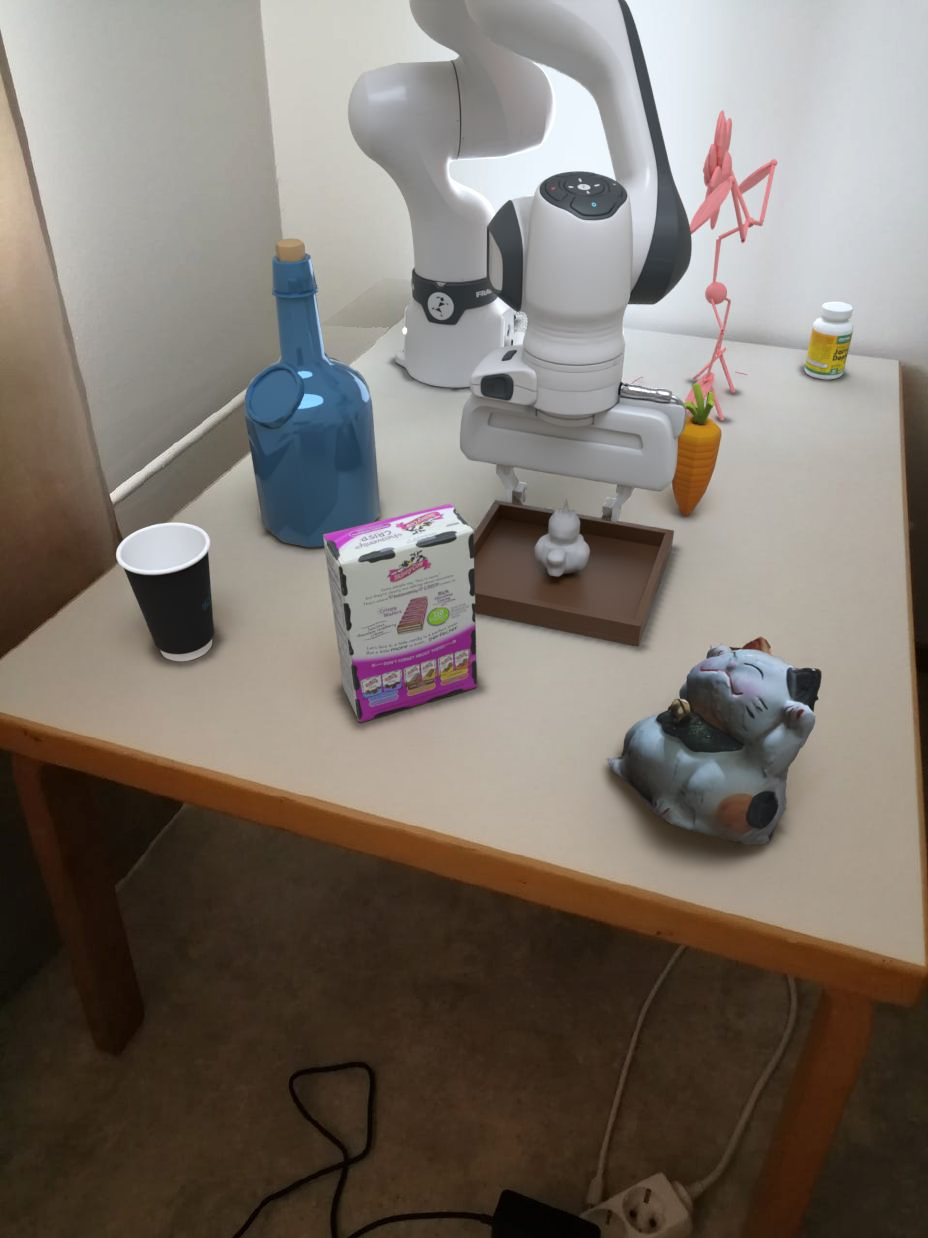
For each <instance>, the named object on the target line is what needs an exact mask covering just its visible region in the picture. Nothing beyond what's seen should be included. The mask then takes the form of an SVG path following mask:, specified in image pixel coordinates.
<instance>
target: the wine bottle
mask: <svg viewBox="0 0 928 1238" xmlns="http://www.w3.org/2000/svg"><path fill="white" fill-rule="evenodd" d="M274 248H275V255H274V256H272V257H271V264H272V265H271V272H272V273H271V274H272V276H271V277H272V288H271V295H272V296H274V297H275V307H276V318H277V328H278V329H277V330H278V338H279V350H280V356H279V358H278V360H277V361H274V362H272V363H271V364H269V365H268V366H267V367H266V368H264V369H263V370H261V371H260V372H259V373H258V374H257V375H255V376H254V377H253V378H252V379H251V381H250V382H249V384H248V385H247V388H246V390H245V395H244V418H245V423H246V431H247V436H248V442H249V443H248V444H249V448H250V455H251V460H252V462H251V463H252V468H253V474H254V479H255V487H256V492H257V498H258V504H259V511H260V517H261V522H262V525H263V526H264V528H265V530H267V531H268V532H269V533H270V534H272V535H273V536H275V537H276V538H277V539H278V540H280V541H281V542H282V543H286V544H291V545H297V546H301V547H304V548H305V547H306V548H316V547H324V540H323V535H324V534H328V533H332V532H336V531H340V530H345V529H349V528H353V527H357V526H361V525H365V524H369V523H373V522H377V521H378V518H379V516H380V514H381V502H380V488H379V475H378V464H377V463H378V462H377V448H376V435H375V422H374V421H375V420H374V408H373V403H372V402H373V401H372V395H371V392H370V387H369V384H368V382H367V380H366V379H365V377H364V376H363V375H362V374H361V372H359V371H358V370H357V369H355V368H354V367H353V366H352V367H351V366H350V365H348V364H346V363H344V362H342V361H340V360H338V359H336V358H335V357H329V356H328V354H327V353H326V351H325V349H324V342H323V334H322V327H321V319H320V313H319V305H318V298H317V293H319V285H318V284H317V280H316V275H315V271H314V267H313V262H312V257H311V255H310V254H308V253H306V245H305V243H304V242H303V240H301V239H298V238H285V239H280V240H279V241H277V242H276V243H275V245H274Z"/></svg>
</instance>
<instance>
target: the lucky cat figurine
mask: <svg viewBox="0 0 928 1238" xmlns="http://www.w3.org/2000/svg"><path fill="white" fill-rule="evenodd" d="M709 647H710V648H709V649H708V651H707V653H706V657H705V659H703V660H702V661H701V662H699V663H697V664H695V665H694V666H693V667H691V669H690V671H689V673H688V674H687V675H686V679H685V682H684V683H683V684H682V685H681V687H680V689H679V692H678V696H679V698H674V700H673V701H671V704H670V705H668V706H667V710H664V711H662V712H660V713H658V714H653V715H649V716H646V717H644V718H642V719H639V720H638V721H637V722H636V723H634V724H633V725H632V726H631V727H630V728H629V729H628V730H627V731H626V733H625V735H624V739H623V746H622V752H621V755H620V756H617V757H616V758H611V757H607V758H606V761H607V763H608V766H609V768H610V770H611V771H612V772H613V773H614V774H615V775H617V776H619V777H620V778H622V779H623V780H624V781H626V782H627V783H628V784H629V785H630V786H631V787H632V788H633V789H634V790H635V792H636V793H637V794H638V795H639V797H640V798H641V799H642V800H643V802H644V804H646V805H647V807H648V808H649V809H650V810H651V811H652V812H654V813H655V814H656V815H658V816H660V817H661V818H663V819H665V820H666V821H667V822H668V823H669V824H671V825H674V826H676V827H679V828H681V829H683V830H687V831H690V832H694V833H697V834H701V835H705V836H710V837H715V838H719V839H724V840H728V841H735V842H737V843H739V844H742V845H743V844H744V845H766V844H770V842H771V840H772V838H773V835H774V832H775V828H776V826H777V824H778V823H779V821H780V819H781V817H782V816H783V814H784V813H785V811H786V809H787V804H788V802H787V801H788V800H787V786H788V785H787V781H788V780H787V779H788V773H789V767H791V764H792V763H793V762H795V760H796V758H797V757H798V754H799V752H800V750H801V749H802V748H803V747H804V746H805V745H806V743H807V741H808V739H809V737H810V734H811V733H812V731H813V729H814V727H815V724H816V716H817V715H815V704H816V702H817V701H819V696H818V694H819V691H820V688H821V684H822V678H823V677H822V675H823V674H822V673H823V672H822V670H821V669H819V668H816V667H815V668H813V667H803V668H800V667H799V668H798V667H795V666H793V665H791V664H789V663H788V662H787V661H786V660H785V659H784V658H782V657H781V656H778V655H773V654H772V651H771V647H772V646H771V645H770V643H769V641H768V640H767V639H766V638H764V637H763V636H758V637H757V638H755V639H753V640H750V641H749V642H746V643H745V644H744V645H743V646H742V647H733V646H728V645H726V644H723V643H720V644H719V645H718V646H714V645H713V644H710V645H709Z"/></svg>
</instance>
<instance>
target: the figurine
mask: <svg viewBox="0 0 928 1238" xmlns="http://www.w3.org/2000/svg"><path fill="white" fill-rule="evenodd" d="M715 125H716V126H715V131H714V139H713V143H711V144H710V146H709V150H708V153H707V155H706V157H705V160H704V165H703V168H702V173H703V183H704V185H705V187H707V188H706V192H705V198H704V201H703V202H702V203H701V204H700V206H699V207H698V209H697V210H696V212H695V214H694V216H693V217H692V218H691V221H690V223H689V225H690V231H691V235H693V234H694V233H695V232H697V230H699V229H700V228H701V227H702V226H703V225H704V224H705V223H707V222H708V221H710V222H709V225H710V230H712V231H713V230H714V229H715V227H716V225H717V223H718V219H719V216H720V215H719V214H720V211H721V206H722V205H723V203H724V201H725V200H726V199H727V197H728V195H729V193H731V197H732V202H733V206H734V207H733V208H734V212H735V217H736V221H737V227H734V228H732V229H730V230H728V231H726V232H724V233H722V234H720V235H718V239H715V240H716V241H715V252H714V262H713V275H712V276H713V277H712V282H711V283H710V284H708V285H707V287H706V288H705V291H704V296H705V297H704V298H705V300H706V301H707V302H708V303H709V304H711V307H712V309H713V311H714V315H715V318H716V320H717V323H718V326H719V329H720V331H719V334H718V337H717V341H716V344H715V347H714V350H713V352H712V357H711V359H710V360H709V361H708V362H707V364H705V365H704V367H702V368H701V369H699V371H698V373H696V374H695V375H694V376H693V377H692V380H693V381H694V380H696V379H697V378H699V377H700V376H701V375H702V374H703V373H704V372H705V371H706V370H707V372H706V373H705V374H704V375H702V377H701V378H699V379H698V380H697V381H696V382H695V383H698V384H700V387H701V390H702V394H703V399H704V401H705V400H706V399H707V394H708V392H712V393H713V394H714V400H713V402H714V403H715V404H714V407H715V411H716V413H717V417H718V418H719V421H724V420H725V417H724V414H723V412H722V408H721V406H720V404H719V403H720V402H719V400H718V398H717V395H716V392H715V389H714V387H713V385H714V383H715V378H716V377H715V376H716V375H715V373H714V372H713V371H712V367H713V365H714V363H715V362H716V361H717V360H718V359H719V361H720V364H721V367H722V370H723V373H724V376H725V379H726V382H727V385H728V387H729V390H730V393H731V394H734V393H735V392H736V389H735V387H734V384H733V381H732V378H731V375H730V372H729V369H728V366H727V364H726V361H725V357H724V353H725V352H726V351H727V347H724V348H722V345H723V341H724V340H723V339H724V336H725V331H726V326H727V321H728V317H729V313H730V308H731V304H732V300H731V298H729V297H727V296H728V290H727V287H726V285H725V284H724V283H722V282H719V281H717V277H718V276H717V275H718V269H719V268H718V267H719V261H720V252H721V251H720V250H721V244H722V240H723V239H726V238H727V237H729V236H731V235H733V234H735V233H739V238H740V243H741V244H745V243H746V240H747V236H748V235H747V234H748V230H749V229H750V228H752V227H753V226H758V227H763V225H764V221H765V218H766V212H767V208H768V203H769V197H770V193H771V189H772V184H773V179H774V174H775V169H776V166H777V165H778V160H777V159H775V158H773V159H771V160H770V161H769V162H767V163H765V164H764V165H762V166H760V167H759V168H757V169H756V170H755V171H753V172H752V173H751V174H749V175H748V176H747V177H746V178H744V179H743V181H742V182H741V183H740V184H738V180H737V178H736V176H735V173H734V170H733V160H732V159H733V158H732V155H731V153H730V152H729V150H730V146H731V139H732V129H733V121H732V118H731V117H728V119H726V116H725V112H724V110H723V109H722V110H721V111H720V112H719V114H718V117H717V120H716V124H715ZM767 176H768V177H767ZM766 177H767V183H766V187H765V193H764V197H763V202H762V207H761V210H760V211H761V212H760V216H759V220H757V219H756V220H755V219H754V218H753V217H751V216H750V213H749V211H748V207H747V205H746V202H745V200H744V196H743V194H745V193H746V192H748V191H750V190H752V188H754V187H756V186H757V185H758V184H760V182H761V181H763V180H764V179H765V178H766ZM730 191H731V192H730ZM740 207H741V208H740ZM741 210H742V212H743V216H744V218H745V221H744V223H743V217H742V213H741ZM725 301H726V302H727V304H726V310H725V314H724V319H723V323H722V321H721V318H720V315H719V312H718V309H717V306H716V305H720V304H722V303H723V302H725ZM734 373H735V374H739V375H744V376H748V373H744V372H738V371H734ZM643 377H644V376H640V377H639V378H636V379H635V380H634V381H632V382H631V383H630V384H634V383H635V382H636V381H639V380H640V379H642V378H643ZM688 401H691V402H693V404H694V406H695V405H697V402H696V399H695V395H694V391H693V387H692V386H691V388H690V390H689V392H688V394H687V396H686V398H685V400H684V403H686V402H688ZM686 410H687V415H686V416H688V415H689V414H692V413H691V412H690V411H689V410H688V409H686Z"/></svg>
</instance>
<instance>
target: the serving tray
mask: <svg viewBox="0 0 928 1238" xmlns="http://www.w3.org/2000/svg"><path fill="white" fill-rule="evenodd" d="M555 510H556V509H551V508H545V507H539V506H534V505H528V504H523V505H522V506H520V505H514V504H508V503H507V501H504V500H498V499H495V500H494V501H493V503H492V504H491V506H490V508H489V509H488V511H487V513H486V514H485V515H484V516H483V518H482V519H481V522H480V523H479V524H478V526H477V528H476V529H475V531H473V536H474V573H475V614H479V615H485V616H488V617H489V616H490V617H495V618H499V619H503V620H508V621H513V622H518V623H523V624H527V625H533V626H538V627H543V628H547V629H552V630H557V631H562V632H567V633H571V634H576V635H582V636H586V637H591V638H595V639H600V640H606V641H610V642H615V643H620V644H624V645H629V646H635V647H639V646H640V643H641V640H642V637H643V634H644V631H645V629H646V625H647V622H648V619H649V616H650V613H651V612H652V611H651V610H652V608H653V605H654V602H655V599H656V596H657V593H658V590H659V587H660V584H661V583H662V582H661V581H662V579H663V576H664V572H665V570H666V567H667V564H668V561H669V558H670V555H671V552H672V549H673V541H674V536H675V535H674V534H675V530H673V529H668V528H663V527H662V528H661V527H656V526H649V525H646V524H645V525H644V524H639V523H632V522H627V521H622V520H621V521H620V520H618V521H617V523H615V522H610V521H604V520H602V517H599V516H598V517H597V516H592V515H586V514H580V513H575V514H576V515H577V516H578V518H579V520H580V532H579V534H581V535H582V536H583V538H584V541H585V542H586V543H587V544H588V546H589V549H590V554H589V559H588V562H587V564H586V566H585V568H584V569H583V570H581V571H576V572H573V573H569V574H562V575H561V576H558V577H556V576H551V575H549V574H548V572H547V568H546V567H544V566H543V564H539V563H538V562H537V561H536V559H535V552H534V548H535V546H536V544H537V542H538V540H539V539H540V538H541V537H542V536H544V535H547V534H548V533H549V531H548V528H549V519H550V517H551V516H552V515H553V513H554V512H555Z"/></svg>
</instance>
